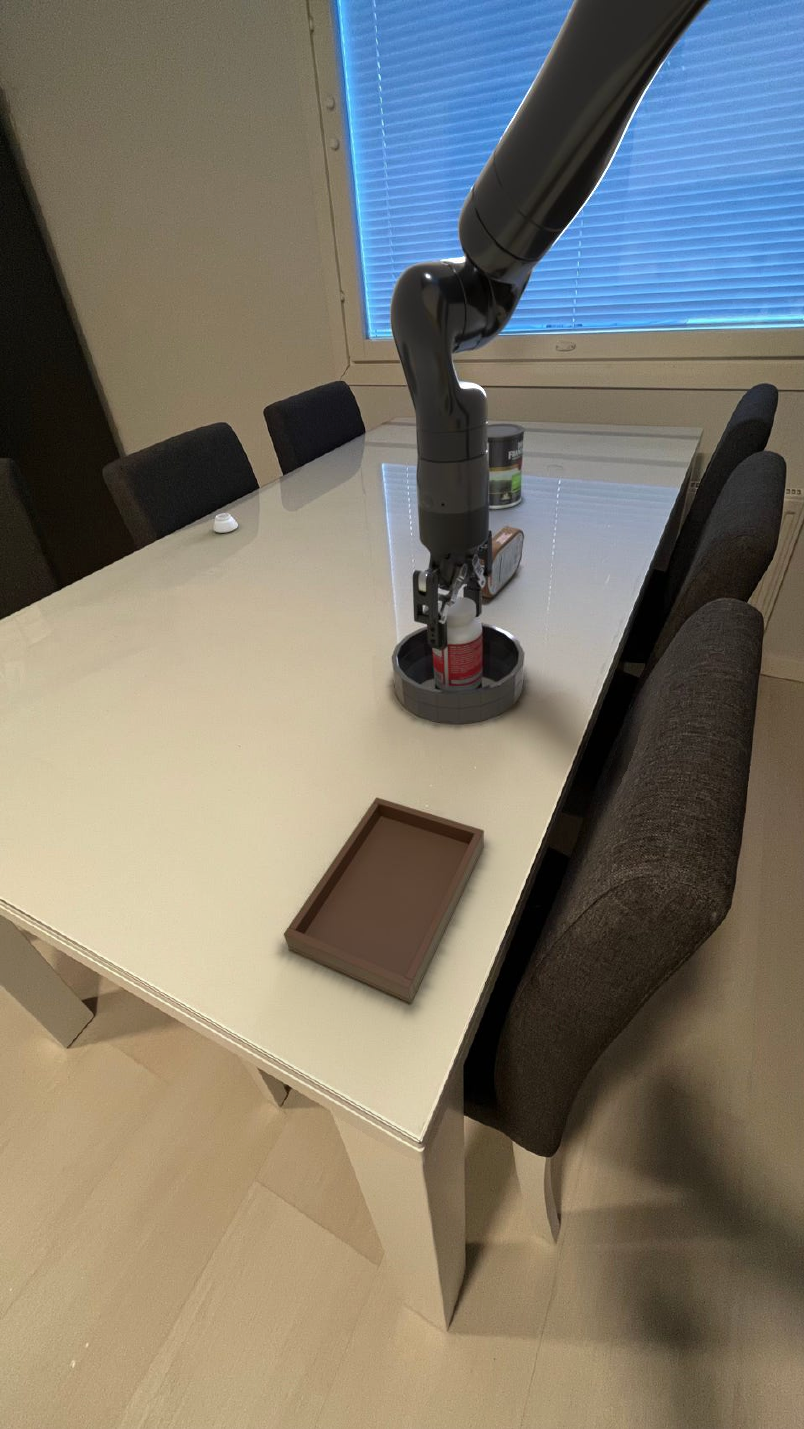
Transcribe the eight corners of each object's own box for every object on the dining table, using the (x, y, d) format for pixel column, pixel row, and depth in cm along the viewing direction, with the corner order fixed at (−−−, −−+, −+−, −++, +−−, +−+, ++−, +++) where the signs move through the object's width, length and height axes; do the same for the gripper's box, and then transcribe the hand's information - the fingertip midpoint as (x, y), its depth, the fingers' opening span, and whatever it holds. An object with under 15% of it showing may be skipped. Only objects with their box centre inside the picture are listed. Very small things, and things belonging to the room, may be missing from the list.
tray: (410, 1003, 46) (408, 988, 45) (288, 948, 51) (283, 933, 49) (483, 845, 57) (484, 830, 56) (378, 812, 62) (376, 796, 60)
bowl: (549, 680, 77) (551, 651, 74) (459, 742, 69) (458, 712, 66) (456, 636, 87) (456, 608, 84) (369, 686, 79) (365, 657, 76)
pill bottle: (490, 675, 78) (491, 599, 71) (468, 701, 74) (467, 623, 68) (448, 663, 81) (446, 589, 74) (425, 687, 77) (420, 611, 70)
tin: (508, 565, 104) (510, 517, 98) (525, 568, 102) (528, 519, 97) (470, 604, 94) (469, 553, 89) (488, 608, 93) (489, 556, 87)
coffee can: (528, 495, 129) (532, 424, 120) (509, 512, 123) (511, 438, 114) (485, 490, 134) (485, 421, 125) (463, 506, 127) (462, 435, 118)
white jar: (242, 525, 129) (221, 524, 130) (238, 511, 127) (218, 511, 128) (231, 534, 125) (210, 533, 126) (227, 520, 123) (206, 520, 125)
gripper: (450, 527, 57) (454, 668, 67) (515, 479, 66) (509, 611, 76) (385, 516, 60) (398, 652, 70) (455, 472, 69) (457, 598, 79)
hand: (456, 630), depth 73 cm, fingers open, 8 cm apart
